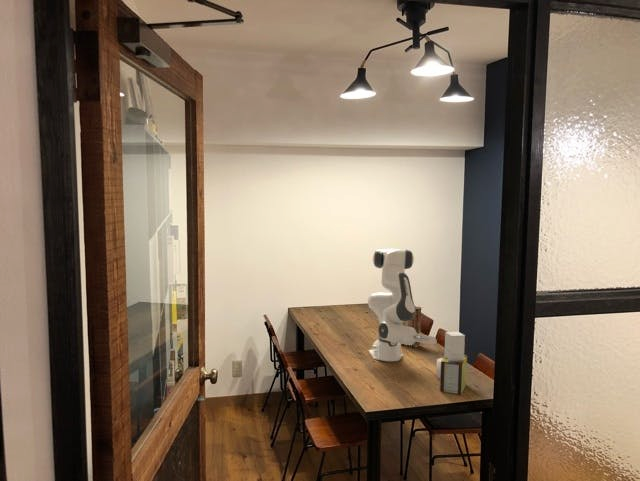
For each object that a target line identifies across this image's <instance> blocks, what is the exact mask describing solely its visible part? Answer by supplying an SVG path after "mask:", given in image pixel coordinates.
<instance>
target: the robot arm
mask: <svg viewBox="0 0 640 481" xmlns="http://www.w3.org/2000/svg"><path fill="white" fill-rule="evenodd" d="M414 261H415V258H414V255H413V252H412V251H411V250H408V249H398V248H386V249H382V248H380V249H376V250H375V251H374V253H373V255H372V262H373V264H374V265H373V266H374V267H375V268H378V269H382V270H381V286H382V287H383V288H384V289H385V290H387V291H389V292H375V293H371V294H370V295H369V296H368V299H367V304H368V308H370V310H371V311H372V312H374V314H376V316H377V318H378V322H379V325H378V328H377V329H378V330H377V331H378V335H377V336H378V338H377V339H376V340H375V341H374V342H373V343H372V345H371V349H369V350H368V353H369V354H370V355H371V357H372V358H373V360H377V361H384V362H398V361H400V360H401V359H402V358H404V354H402V344H404V345H403V346H407V345H409V346H408V347H411V346H410V345H413V344H414V343H415V342H420V344H421V343H423V344H428V345H435V344H437V342H438V340H437V338H436V337H435V336H432V335H427V334H421V333H420V334H417V332H416V330H415V329H414V328H412V327H408V326H404V325H403V322H405V321H408V320H411V319H413V318H414V317H415V313H416V308H415V303H414V299H413V293H412V287H411V282H410V279H409V276H408V275H407V273H405V270H409V269H411V268H412V267H413V264H414Z"/></svg>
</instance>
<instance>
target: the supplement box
mask: <svg viewBox="0 0 640 481" xmlns="http://www.w3.org/2000/svg"><path fill="white" fill-rule="evenodd" d="M465 338H466V335H465V334H464V333H461V332H460V331H446V332H445V333H444V355H443V357H444V356H445V357H446V358H447V359H449V360H450V361H462V360H464V355H465V343H466V342H465V340H466V339H465Z"/></svg>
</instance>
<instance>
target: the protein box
mask: <svg viewBox="0 0 640 481" xmlns="http://www.w3.org/2000/svg"><path fill="white" fill-rule="evenodd" d="M442 358H443V359H442V360H441V378H440V379H439V380H440V381H439V383H440V384H439V387H440V388H439V392H442V393H447V394H452V395H458V396H459V395H460V396H462V394H463V392H464V389H465V387H466V386H467V369H468V354H464V360H462V361H450V360H449V359H447V358H446V357H445V356H444V355H443V357H442Z"/></svg>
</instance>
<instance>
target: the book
mask: <svg viewBox="0 0 640 481" xmlns="http://www.w3.org/2000/svg"><path fill="white" fill-rule="evenodd" d="M415 308H416V313H415V317H414V318H413V319H411V320H408V321H405V322H403V325H404V326H408V327H412V328H414V329H415V330H416V332H417V334H421V327H422V326H421V325H422V324H421V323H422V307H421V306H415ZM419 345H420V346H421V342H415V343H414V344H413V345H412V346H419ZM412 346H411V347H412Z"/></svg>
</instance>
